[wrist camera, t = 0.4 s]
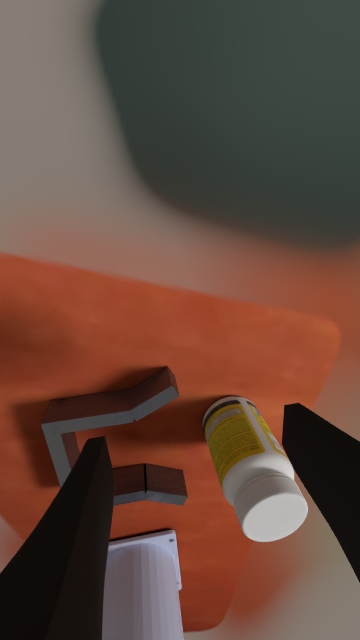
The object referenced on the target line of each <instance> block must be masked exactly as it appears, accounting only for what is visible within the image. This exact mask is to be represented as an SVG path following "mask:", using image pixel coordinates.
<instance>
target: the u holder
mask: <svg viewBox="0 0 360 640" xmlns="http://www.w3.org/2000/svg"><path fill="white" fill-rule="evenodd" d="M177 397H179V392H178V388H177V384H176V380H175V376H174V374H173V373H172V372H171V370H170V369H169V367H168V366H167V367H166V368H164V369H162V370H161V371H159V372H157V373H156V374H154V375H152V376H151V377H149V378H147V379H146V380H144V381H142V382H141V383H139V384H137V385H135V386H134V387H132V388H130V389H124V390H117V391H110V392H103V393H96V394H89V395H82V396H75V397H68V398H61V399H54V400H51V401H50V403H49V406H48V408H47V411H46V413H45V415H44V418H43V420H42V423H41V426H42V430H43V433H44V436H45V439H46V442H47V445H48V449H49V452H50V455H51V458H52V461H53V464H54V468H55V471H56V474H57V477H58V480H59V483H60V487H62V485H63V484H64V482H65V480H66V478H67V477H68V475H69V473H70V472H71V470H72V468H73V466H74V464H75V462H76V461H77V459H78V457H79V455H80V452H79V448H78V445H77V441H76V437H75V433H74V432H75V431H81V430H87V429H94V428H100V427H106V426H113V425H119V424H126V423H132V422H134V419H135V420H136V421H138V420H140V419H141V418H143V417H145V416H146V415H148V414H150V413H152V412H153V411H155V410H157V409H158V408H160V407H162V406H164V405H165V404H167V403H169V402H170V401H172V400H174V399H175V398H177ZM113 474H114V502H113V506H115V505H120V504H125V503H131V502H136V501H141V500H149V501H156V502H163V503H169V504H176V505H183V504H184V503H185V501H186V499H187V497H188V495H187V490H186V485H185V480H184V474H183V470H178V469H173V468H167V467H162V466H156V465H151V464H146V465H145V467H144V464H139V465H133V466H127V467H121V468H116V469H113Z"/></svg>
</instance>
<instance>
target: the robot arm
mask: <svg viewBox="0 0 360 640" xmlns="http://www.w3.org/2000/svg"><path fill="white" fill-rule="evenodd" d="M282 445H283V447H284V450H285V452H286V454H287V456H288V458H289V460H290V462H291V464H292V466H293V468H294V470H295V472H296V473H297V475H298V477H299V478H300V480H301V481H302V483H303V484H304V486H305V488H306V489H307V491H308V492H309V494H310V496H311V497H312V499H313V500H314V502H315V503H316V505H317V507H318V508H319V510H320V511H321V513H322V515H323V516H324V518H325V519H326V521H327V522H328V524H329V526H330V527H331V529H332V531H333V532H334V534H335V536H336V538H337V539H338V541H339V543H340V545H341V547H342V549H343V551H344V553H345V555H346V557H347V558H348V561H349V562H350V564H351V566H352V568H353V570H354V572H355V574H356V576H357V578H358V580H359V582H360V442H359V441H358V440H356V439H354V438H353V437H351V436H349V435H348V434H346V433H345V432H343V431H342V430H340V429H338V428H337V427H335V426H334V425H332V424H330V423H329V422H328V421H326V420H325V419H323V418H321V417H320V416H318V415H317V414H315V413H314V412H312V411H311V410H309V409H308V408H306V407H305V406H303V405H301V404H300V403H295V404H289V405H284V420H283V434H282ZM113 502H114V474H113V469H112V465H111V461H110V456H109V452H108V448H107V443H106V439H105V436H102V437H97V438H91V439H88V440H87V441H86V443H85V445H84V447H83V449H82V451H81V453H80V455H79V457H78V459H77V461H76V462H75V464H74V466H73V468H72V470H71V472H70V473H69V475H68V477H67V478H66V480H65V482H64V484H63V485H62V487H61V489H60V490H59V492H58V494H57V495H56V497H55V498H54V500H53V502H52V503H51V505H50V506H49V508H48V509H47V511H46V512H45V514H44V515H43V517H42V518H41V520H40V521H39V523H38V524H37V526H36V527H35V529H34V530H33V531H32V533H31V534H30V536H29V537H28V538H27V540H26V541H25V542H24V544H23V545H22V546H21V548H20V549H19V551H18V552H17V553H16V554H15V556H14V557H13V558H12V559H11V561H10V562H9V563H8V564H7V566H6V567H5V568H4V570H3V571H2V572H1V573H0V640H184V637H183V628H182V620H181V611H180V603H179V594H178V591H179V590H180V589H181V587H182V586H181V577H180V568H179V560H178V551H177V542H176V533H175V531H174V530H167V531H162V532H157V533H152V534H147V535H143V536H138V537H133V538H128V539H123V540H118V541H113V542H109V539H110V530H111V522H112V513H113Z"/></svg>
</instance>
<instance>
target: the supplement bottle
mask: <svg viewBox="0 0 360 640" xmlns="http://www.w3.org/2000/svg"><path fill="white" fill-rule="evenodd" d="M203 431H204V435H205V438H206V441H207V444H208V447H209V450H210V453H211V457H212V460H213V463H214V466H215V469H216V472H217V475H218V479H219V482H220V485H221V488H222V491H223V494H224V496H225V498H226V499H227V501H228V502H229V503H230V504H231V505H232V506H234V508H235V513H236V516H237V518H238V520H239V523H240V525H241V528H242V530H243V532H244V534H245V535H246V536H247V537H248V538H250V539H252V540H254V541H259V542H269V541H274V540H278V539H281V538H284V537H286V536H288V535H289V534H291V533H292V532H294V531H295V530H296V529H298V528H299V527H300V525H301V524H302V523H303V522H304V520H305V518H306V516H307V512H308V507H307V503H306V501H305V499H304V497H303V495H302V494H301V492H300V490H299V488H298V486H297V484H296V483H295V482H294V471H293V468H292V465H291V463H290V461H289V460H288V458H287V456H286V455H285V453H284V452H283V450H282V448H281V447H280V445H279V444H278V442H277V440H276V439H275V437H274V435H273V434H272V432H271V430H270V429H269V427H268V426H267V424H266V422H265V421H264V419H263V417H262V416H261V414H260V413H259V411H258V409H257V408H256V406H255V405H254V404H253V403H252V402H251V401H250V400H248V399H246V398H243V397H226V398H223V399H220V400H218V401H217V402H215V403H214V404H213V405H211V406H210V407H209V409H208V410H207V411H206V413H205V415H204V418H203Z"/></svg>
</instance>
